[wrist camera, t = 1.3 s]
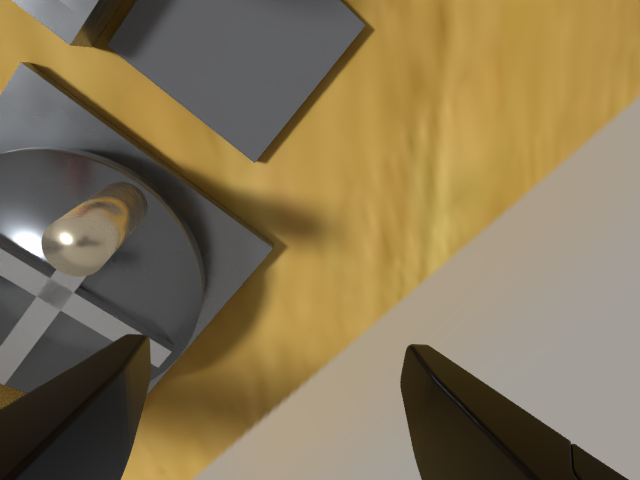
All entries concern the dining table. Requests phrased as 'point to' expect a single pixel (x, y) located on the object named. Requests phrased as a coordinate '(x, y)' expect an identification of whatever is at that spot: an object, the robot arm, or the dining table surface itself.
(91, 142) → the wheel base
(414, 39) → the dining table surface
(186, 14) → the mat
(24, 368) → the handwheel
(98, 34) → the collar
